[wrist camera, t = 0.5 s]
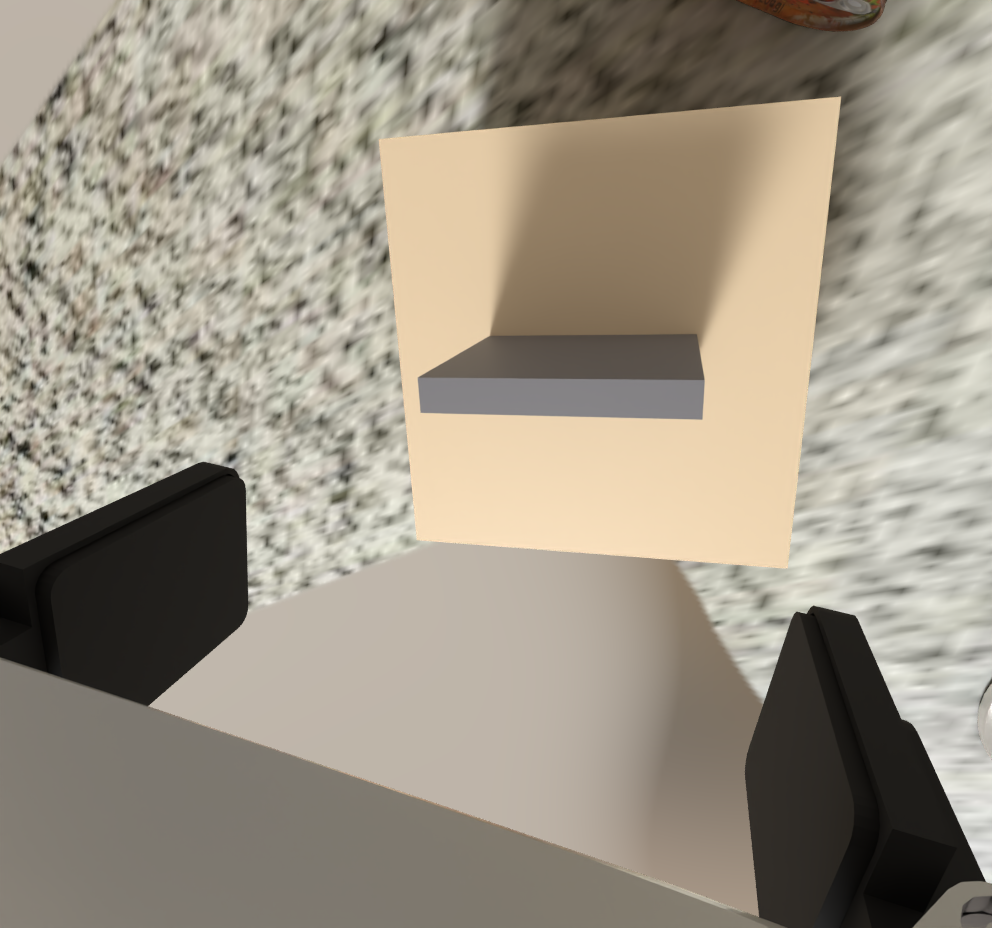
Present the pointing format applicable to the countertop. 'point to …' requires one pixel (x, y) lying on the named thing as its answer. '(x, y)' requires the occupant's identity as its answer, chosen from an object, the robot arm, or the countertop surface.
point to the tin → (823, 12)
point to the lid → (611, 328)
